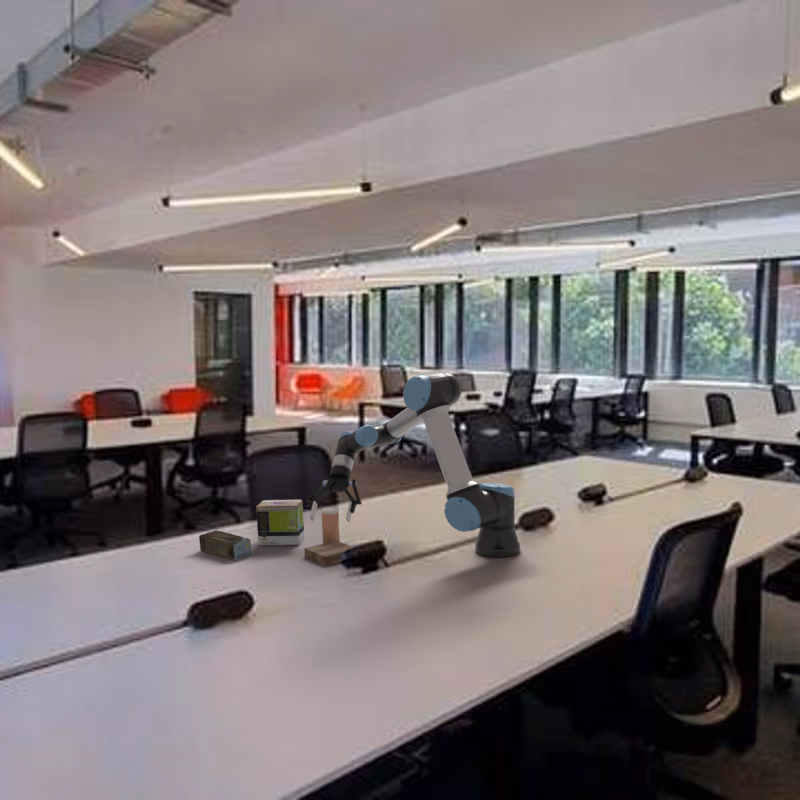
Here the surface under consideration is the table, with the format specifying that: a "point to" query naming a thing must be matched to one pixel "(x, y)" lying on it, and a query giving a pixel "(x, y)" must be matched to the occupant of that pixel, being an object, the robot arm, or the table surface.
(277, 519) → the tea box
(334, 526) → the terracotta canister
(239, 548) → the beverage carton
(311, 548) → the wooden square slab
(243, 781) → the table surface
